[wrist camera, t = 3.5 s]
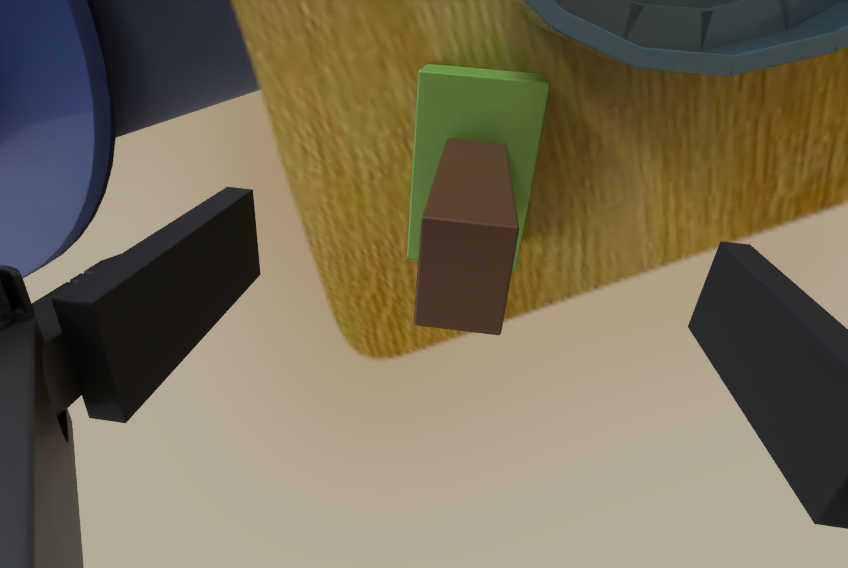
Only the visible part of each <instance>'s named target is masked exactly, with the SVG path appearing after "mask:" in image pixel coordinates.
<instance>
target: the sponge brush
mask: <svg viewBox="0 0 848 568" xmlns="http://www.w3.org/2000/svg"><path fill="white" fill-rule="evenodd" d="M549 87H550V82H549V81H548V80H547V79H546V78H545V77H544V76H543V75H542V74H537V73H526V72H514V71H503V70H492V69H481V68H470V67H459V66H447V65H436V64H427V65H425V66H424V67H423V68H422V69H421V70H419V72H418V86H417V102H416V118H415V134H414V150H413V166H412V182H411V198H410V214H409V230H408V246H407V258H408V259H414V260H418V272H417V285H416V299H415V312H414V324H415V325H418V326H427V327H435V328H443V329H451V330H460V331H468V332H476V333H485V334H494V335H500V334H501V330H502V325H503V319H504V313H505V308H506V302H507V296H508V291H509V285H510V279H511V274H512V271H516V269H517V264H518V259H519V253H520V248H521V242H522V236H523V231H524V225H525V220H526V214H527V209H528V203H529V198H530V192H531V187H532V181H533V176H534V170H535V165H536V159H537V154H538V148H539V143H540V137H541V131H542V126H543V120H544V115H545V109H546V104H547V98H548V93H549Z"/></svg>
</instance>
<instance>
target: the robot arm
mask: <svg viewBox="0 0 848 568" xmlns="http://www.w3.org/2000/svg"><path fill="white" fill-rule="evenodd" d="M259 275H260V265H259V254H258V243H257V233H256V221H255V210H254V199H253V190H250V189H241V188H232V187H226V188H225V189H223V190H222V191H220V192H218V193H217V194H216V195H214V196H212V197H210V198H209V199H207V200H206V201H204V202H203V203H201V204H200V205H198V206H196V207H195V208H193V209H192V210H190V211H189V212H187V213H185V214H184V215H182V216H181V217H179V218H178V219H176V220H174V221H173V222H171V223H169V224H168V225H166V226H165V227H163V228H162V229H160V230H158V231H157V232H155V233H154V234H152V235H151V236H149V237H147V238H146V239H144V240H143V241H141V242H140V243H138V244H136V245H135V246H133V247H132V248H130V249H129V250H127V251H125V252H124V253H122V254H119V255H116V256H114V257H111V258H108V259H105V260H102V261H100V262H99V263H97V264H95V265H94V266H92V267H90V268H89V269H87V270H86V271H84V274H79V275H78V276H76V277H74V278H73V279H71V280H70V283H69V282H66V283H65V284H63V285H61V286H60V287H58V288H57V289H55V290H53V291H52V292H50V293H49V294H47V295H45V296H44V297H42V298H40V299H39V300H37V301H36V302H34V303H32V304H31V301H30V299H29V296H28V293H27V290H26V287H25V284H24V281H23V278H22V275H21V273H20V271H19V270H18V269H17V268H14V267H11V266H6V265H0V568H83V555H82V544H81V530H80V519H79V518H80V517H79V505H78V493H77V479H76V468H75V454H74V441H73V429H72V421H71V418H70V415H69V412H68V409H67V408H68V407H69V406H70V405H71V404H72V403H73V402H74V401H75V400H76V399H78V398H79V397H80V396H81V395H82V396H83V399H84V403H85V406H86V409H87V412H88V415H89V418H94V419H101V420H108V421H115V422H122V423H126V422H127V421H128V420H129V419H130V418H131V417H132V416H133V415H134V413H135V412H136V411H137V410H138V409H139V408H140V407H141V406H142V405H143V403H144V402H145V401H146V400H147V399H148V398H149V397H150V396H151V395H152V394H153V392H154V391H155V390H156V389H157V388H158V387H159V386H160V385H161V384H162V382H163V381H164V380H165V379H166V378H167V377H168V376H169V375H170V374H171V372H172V371H173V370H174V369H175V368H176V367H177V366H178V365H179V364H180V363H181V362H182V360H183V359H184V358H185V357H186V356H187V355H188V354H189V353H190V352H191V350H192V349H193V348H194V347H195V346H196V345H197V344H198V343H199V341H200V340H201V339H202V338H203V337H204V336H205V335H206V334H207V333H208V332H209V331H210V329H211V328H212V327H213V326H214V325H215V324H216V323H217V322H218V321H219V319H220V318H221V317H222V316H223V315H224V314H225V313H226V312H227V311H228V310H229V308H230V307H231V306H232V305H233V304H234V303H235V302H236V301H237V300H238V299H239V297H240V296H241V295H242V294H243V293H244V292H245V291H246V290H247V289H248V287H249V286H250V285H251V284H252V283H253V282H254V281H255V280H256V279H257V278H258V276H259ZM688 327H689V329H690V331H691V332H692V334H693V335H694V337H695V338H696V340H697V341H698V343H699V345H700V346H701V348H702V349H703V351H704V352H705V354H706V356H707V357H708V359H709V360H710V362H711V363H712V365H713V366H714V368H715V370H716V371H717V373H718V374H719V375H720V377H721V379H722V380H723V382H724V384H725V385H726V387H727V388H728V390H729V391H730V393H731V394H732V396H733V397H734V399H735V401H736V402H737V404H738V405H739V407H740V408H741V410H742V412H743V413H744V414H745V416H746V418H747V419H748V421H749V422H750V424H751V426H752V427H753V429H754V430H755V432H756V433H757V435H758V436H759V438H760V439H761V441H762V443H763V444H764V446H765V447H766V449H767V450H768V452H769V454H770V455H771V457H772V458H773V460H774V461H775V463H776V464H777V466H778V467H779V469H780V471H781V472H782V474H783V475H784V477H785V478H786V480H787V481H788V483H789V485H790V486H791V488H792V489H793V491H794V492H795V494H796V496H797V497H798V499H799V500H800V502H801V503H802V505H803V506H804V508H805V510H806V511H807V513H808V514H809V516H810V517H811V518H812V520H813V522H814V524H820V525H827V526H833V527H841V528H847V529H848V329H846V328H845V327H844V326H843V325H842V324H841V323H839V322H838V321H837V320H836V319H835V318H834V317H833V316H831V315H830V314H829V313H828V312H827V311H826V310H825V309H823V308H822V307H821V306H820V305H819V304H818V303H816V302H815V301H814V300H813V299H812V298H811V297H810V296H808V295H807V294H806V293H805V292H804V291H803V290H801V289H800V288H799V287H798V286H797V285H796V284H795V283H793V282H792V281H791V280H790V279H789V278H788V277H787V276H785V275H784V274H783V273H782V272H781V271H780V270H778V269H777V268H776V267H775V266H774V265H773V264H771V263H770V262H769V261H768V260H767V259H766V258H765V257H763V256H762V255H761V254H760V253H759V252H758V251H757V250H755V249H754V248H753V247H752V246H751V245H748V244H739V243H730V242H720V244H719V247H718V250H717V253H716V255H715V257H714V260H713V263H712V265H711V268H710V270H709V273H708V276H707V278H706V281H705V283H704V286H703V289H702V291H701V294H700V296H699V299H698V302H697V304H696V307H695V310H694V312H693V315H692V317H691V320H690V322H689V325H688Z"/></svg>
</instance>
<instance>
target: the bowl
mask: <svg viewBox="0 0 848 568" xmlns="http://www.w3.org/2000/svg"><path fill="white" fill-rule="evenodd" d="M511 1H512V2H513V3H514V4H515V5H516V6H517V7H518V8H519V9H520V10H521V11H522V12H523V13H524V14H525V15H526V16H527V17H528V18H529V19H530V20H531V21H532V22H533V23H534V24H535V25H536V26H538V27H540V28H542V29H544V30H546V31H548V32H550V33H552V34H554V35H557V36H559V37H561V38H563V39H565V40H567V41H569V42H571V43H573V44H576V45H578V46H580V47H582V48H584V49H586V50H588V51H590V52H592V53H595V54H597V55H599V56H601V57H604V58H607V59H610V60H613V61H616V62H618V63H621V64H624V65H627V66H630V67H633V68H637V69H648V70H660V71H671V72H683V73H694V74H705V75H717V76H733V75H738V74H742V73H746V72H751V71H755V70H760V69H764V68H769V67H773V66H777V65H782V64H786V63H791V62H795V61H800V60H804V59H808V58H813V57H817V56H822V55H826V54H831V53H833V52H835V51H839V50H841V49H843V48H845V47H846V46H848V0H511Z"/></svg>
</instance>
